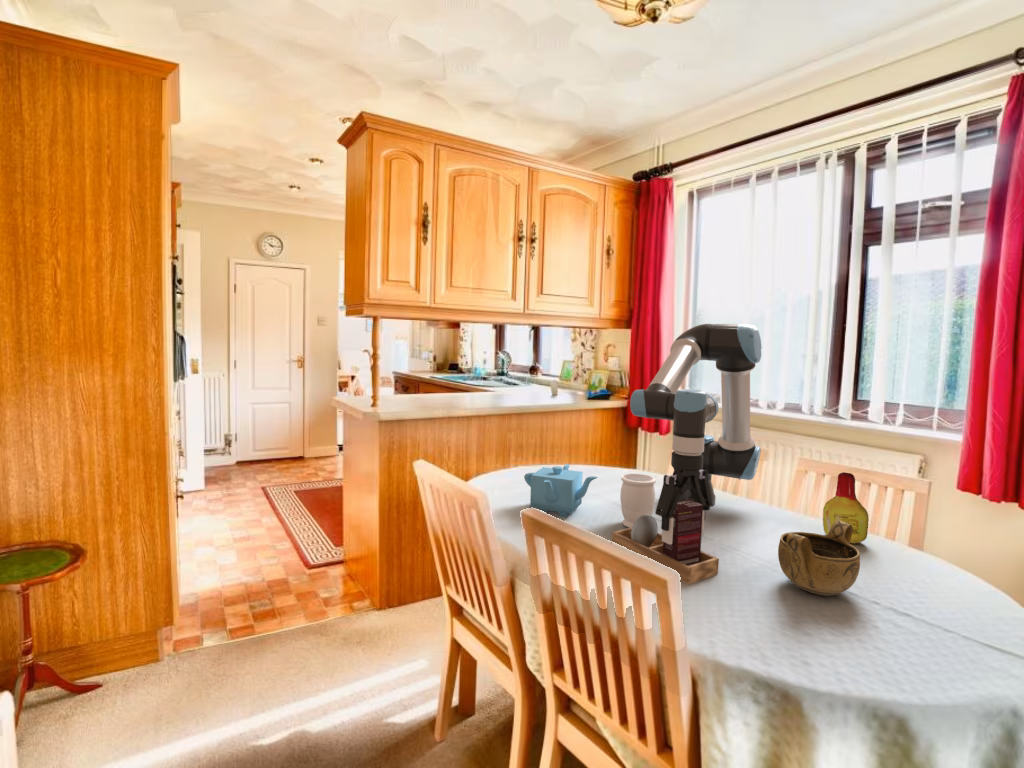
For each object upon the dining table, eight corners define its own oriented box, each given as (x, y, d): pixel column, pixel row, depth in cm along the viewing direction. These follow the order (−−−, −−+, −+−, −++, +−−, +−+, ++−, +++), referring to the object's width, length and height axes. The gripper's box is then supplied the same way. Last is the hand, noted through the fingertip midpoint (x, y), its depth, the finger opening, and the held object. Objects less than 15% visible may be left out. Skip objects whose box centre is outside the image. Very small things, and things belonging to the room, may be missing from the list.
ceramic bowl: (824, 617, 118) (830, 549, 116) (753, 584, 132) (757, 523, 131) (877, 592, 130) (883, 530, 128) (807, 565, 144) (811, 509, 142)
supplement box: (687, 558, 144) (690, 499, 143) (700, 566, 140) (704, 504, 138) (660, 563, 141) (664, 502, 139) (673, 571, 136) (677, 508, 135)
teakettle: (519, 505, 188) (520, 462, 186) (568, 499, 195) (569, 458, 194) (544, 524, 170) (546, 477, 169) (597, 516, 178) (598, 472, 176)
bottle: (816, 534, 166) (822, 469, 164) (828, 531, 170) (833, 467, 168) (859, 548, 156) (865, 479, 154) (870, 544, 160) (876, 476, 158)
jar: (654, 532, 165) (656, 483, 163) (618, 529, 167) (621, 480, 165) (652, 520, 175) (655, 474, 174) (619, 517, 177) (621, 471, 176)
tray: (639, 538, 160) (641, 505, 159) (717, 574, 138) (720, 535, 137) (611, 546, 154) (612, 511, 153) (688, 584, 132) (690, 543, 131)
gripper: (705, 444, 147) (700, 525, 149) (642, 454, 134) (638, 541, 136) (730, 450, 141) (725, 534, 143) (666, 460, 128) (662, 552, 130)
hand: (682, 538), depth 140 cm, fingers open, 11 cm apart
